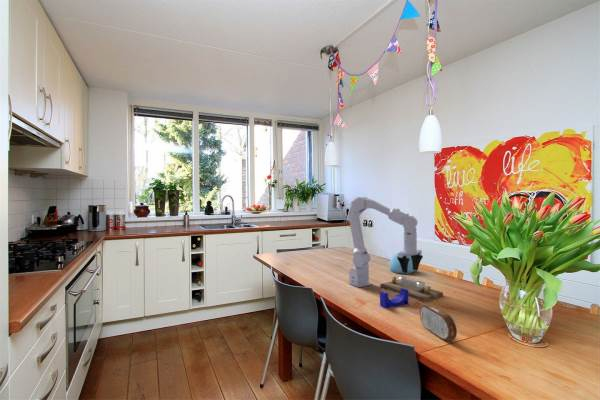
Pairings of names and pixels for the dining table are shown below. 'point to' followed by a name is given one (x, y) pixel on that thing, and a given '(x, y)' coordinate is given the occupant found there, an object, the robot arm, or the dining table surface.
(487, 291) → the dining table surface
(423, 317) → the speaker
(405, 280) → the silver cylinder
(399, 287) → the peg rack
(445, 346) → the dining table surface
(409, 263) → the sugar bowl
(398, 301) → the cable clip
